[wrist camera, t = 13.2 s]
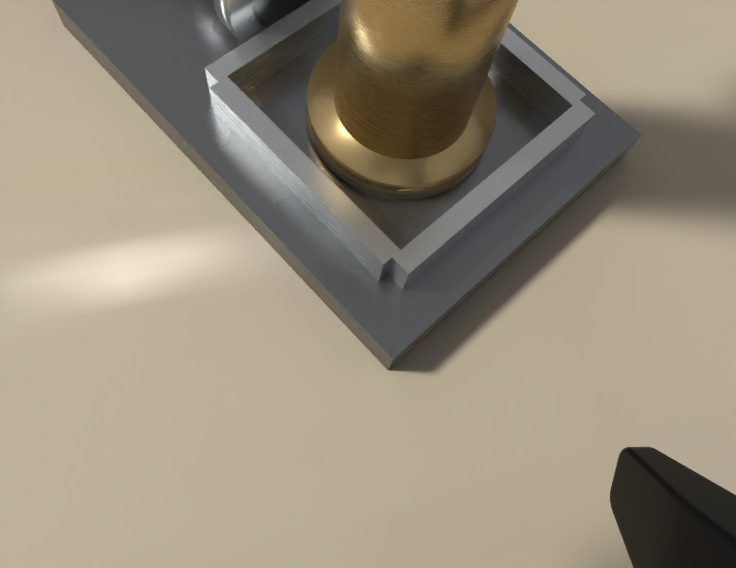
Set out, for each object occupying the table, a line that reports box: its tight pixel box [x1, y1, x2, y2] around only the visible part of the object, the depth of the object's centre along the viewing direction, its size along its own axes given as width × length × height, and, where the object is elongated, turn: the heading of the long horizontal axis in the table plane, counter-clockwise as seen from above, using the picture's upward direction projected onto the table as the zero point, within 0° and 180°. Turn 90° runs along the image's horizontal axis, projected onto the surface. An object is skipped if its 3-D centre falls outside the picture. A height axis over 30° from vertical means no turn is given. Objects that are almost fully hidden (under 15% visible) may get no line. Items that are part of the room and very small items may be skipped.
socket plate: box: [52, 0, 640, 370], centre depth 25 cm, size 20×14×7 cm
